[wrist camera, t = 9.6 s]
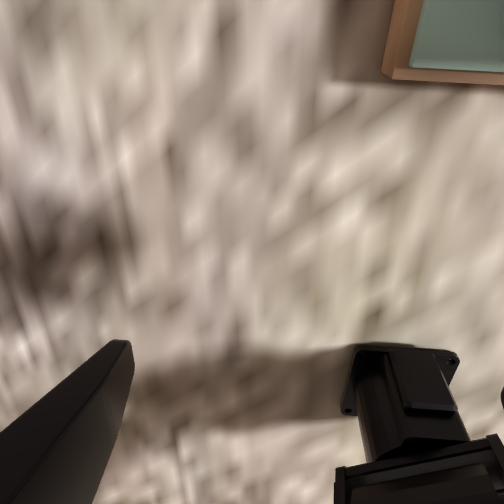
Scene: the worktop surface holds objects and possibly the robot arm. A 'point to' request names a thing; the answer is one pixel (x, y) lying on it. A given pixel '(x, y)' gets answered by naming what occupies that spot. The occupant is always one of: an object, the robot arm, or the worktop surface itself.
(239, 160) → the worktop surface
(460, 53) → the stand
